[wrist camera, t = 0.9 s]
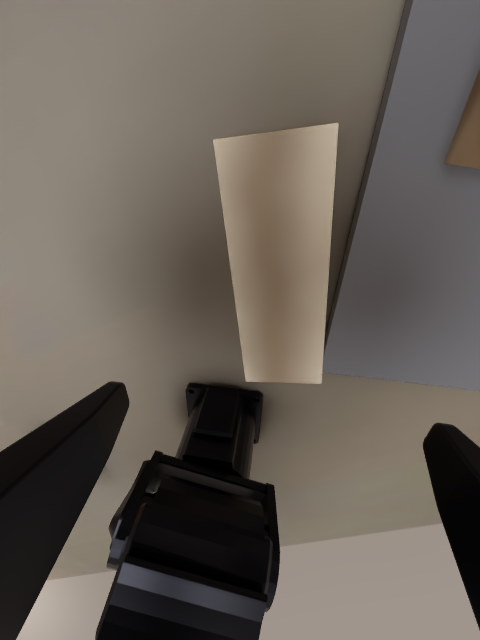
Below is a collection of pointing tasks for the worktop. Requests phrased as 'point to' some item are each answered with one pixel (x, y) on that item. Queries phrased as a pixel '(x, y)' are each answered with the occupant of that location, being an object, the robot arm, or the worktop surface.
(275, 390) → the worktop surface
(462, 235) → the underlay mat
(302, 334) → the birch plank
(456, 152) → the laid oak planks
